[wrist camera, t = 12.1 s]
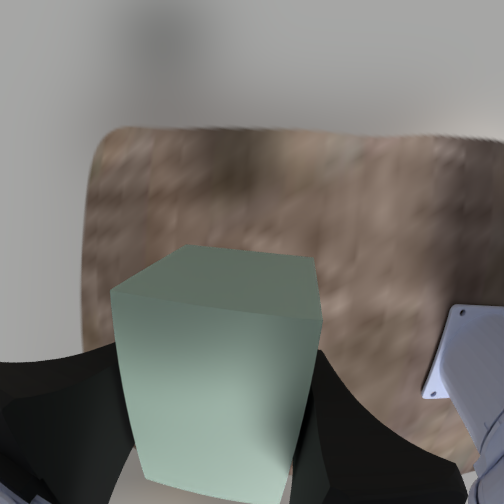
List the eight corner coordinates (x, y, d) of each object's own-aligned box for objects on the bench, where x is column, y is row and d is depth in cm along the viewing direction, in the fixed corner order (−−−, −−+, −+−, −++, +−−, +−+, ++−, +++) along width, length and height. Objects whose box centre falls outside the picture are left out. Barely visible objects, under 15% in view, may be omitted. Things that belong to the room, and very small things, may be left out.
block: (313, 257, 11) (322, 320, 6) (288, 413, 12) (278, 506, 7) (186, 244, 11) (109, 289, 6) (188, 397, 13) (145, 478, 8)
